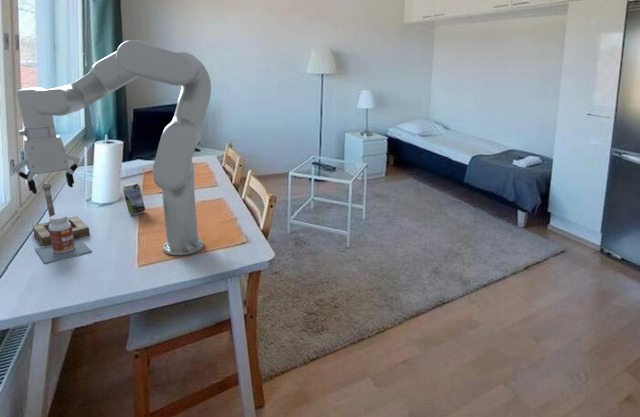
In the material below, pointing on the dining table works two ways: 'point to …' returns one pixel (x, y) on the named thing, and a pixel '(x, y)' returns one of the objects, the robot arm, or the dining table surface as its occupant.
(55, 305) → the dining table surface
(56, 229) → the pill bottle
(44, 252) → the mat
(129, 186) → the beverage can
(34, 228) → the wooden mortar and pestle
